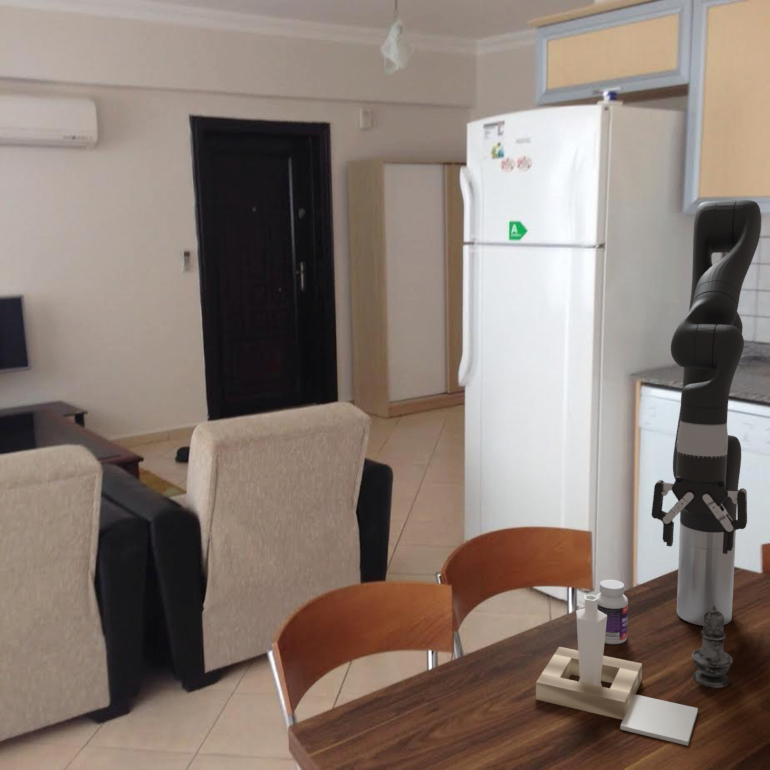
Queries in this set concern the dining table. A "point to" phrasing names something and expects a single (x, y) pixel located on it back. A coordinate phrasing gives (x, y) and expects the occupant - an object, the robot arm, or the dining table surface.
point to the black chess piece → (712, 652)
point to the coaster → (660, 719)
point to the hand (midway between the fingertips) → (697, 548)
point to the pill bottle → (614, 610)
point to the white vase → (591, 640)
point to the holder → (588, 696)
